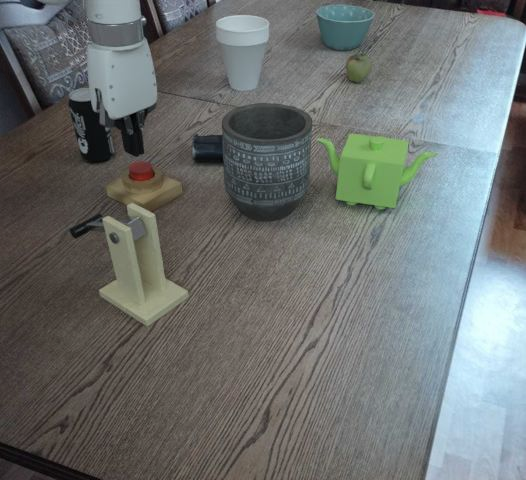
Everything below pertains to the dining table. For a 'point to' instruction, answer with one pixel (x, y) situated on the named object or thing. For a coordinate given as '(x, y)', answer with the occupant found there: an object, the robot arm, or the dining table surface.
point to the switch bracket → (139, 270)
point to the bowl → (343, 25)
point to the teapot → (372, 169)
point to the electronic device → (207, 148)
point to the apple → (357, 67)
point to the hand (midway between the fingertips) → (134, 152)
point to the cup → (243, 48)
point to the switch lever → (97, 225)
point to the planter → (266, 158)
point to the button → (141, 171)
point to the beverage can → (89, 128)
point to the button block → (144, 190)
